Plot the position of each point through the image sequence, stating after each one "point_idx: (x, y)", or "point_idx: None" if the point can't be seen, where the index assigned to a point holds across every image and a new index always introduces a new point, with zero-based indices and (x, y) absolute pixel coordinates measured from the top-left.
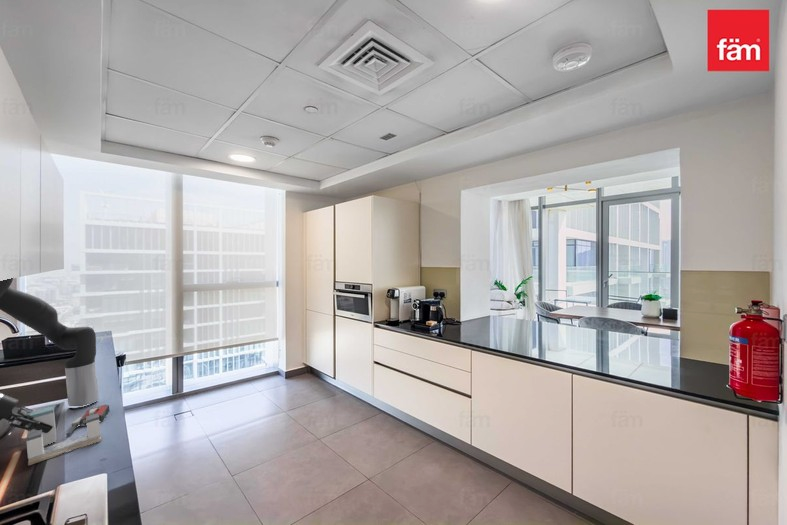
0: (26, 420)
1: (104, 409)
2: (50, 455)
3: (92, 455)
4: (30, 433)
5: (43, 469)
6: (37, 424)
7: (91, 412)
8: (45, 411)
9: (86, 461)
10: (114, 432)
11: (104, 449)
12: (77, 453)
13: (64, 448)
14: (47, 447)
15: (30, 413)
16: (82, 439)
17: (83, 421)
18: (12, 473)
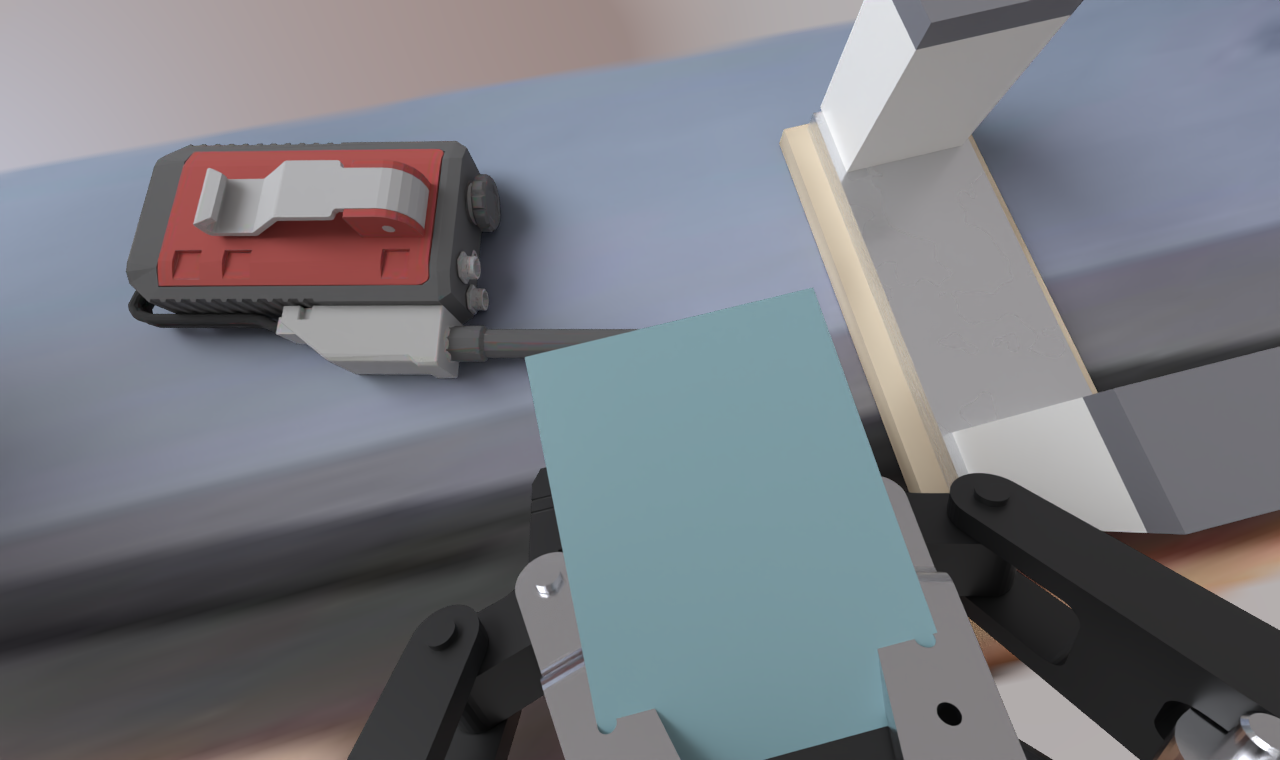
0: (1235, 614)
1: (302, 151)
2: (1075, 353)
3: (1176, 106)
4: (1203, 492)
5: (1251, 348)
6: (939, 494)
7: (398, 190)
8: (831, 402)
9: (1258, 119)
10: (825, 59)
11: (1114, 60)
12: (1081, 202)
13: (1026, 277)
14: (948, 406)
15: (744, 704)
16: (947, 181)
17: (472, 271)
18: (1209, 556)
